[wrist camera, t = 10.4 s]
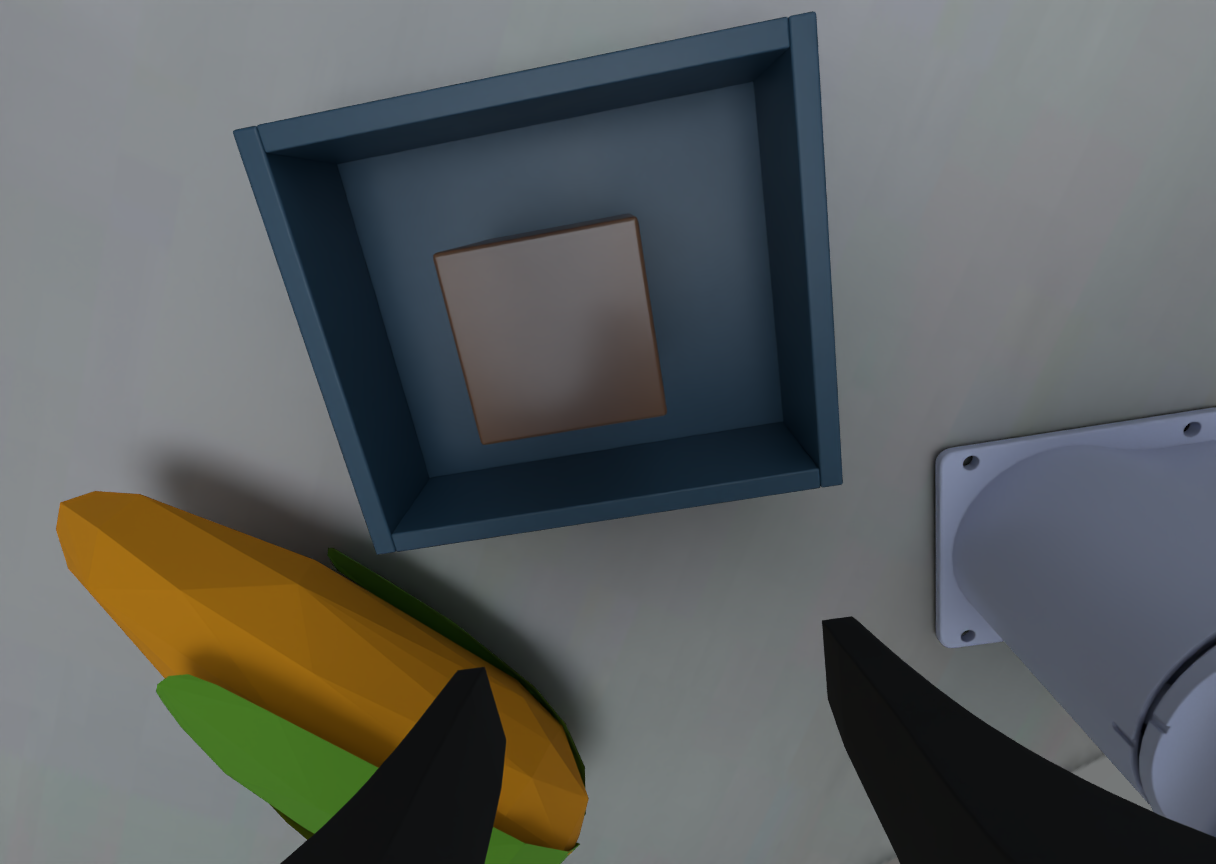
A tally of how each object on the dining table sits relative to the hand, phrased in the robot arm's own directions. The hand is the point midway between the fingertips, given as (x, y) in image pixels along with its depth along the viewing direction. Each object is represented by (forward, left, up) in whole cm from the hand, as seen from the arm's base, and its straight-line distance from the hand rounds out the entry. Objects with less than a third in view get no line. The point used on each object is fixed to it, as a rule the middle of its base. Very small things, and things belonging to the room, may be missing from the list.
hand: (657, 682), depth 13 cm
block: (+1, -7, -9) cm, 11 cm away
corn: (+11, +4, -10) cm, 15 cm away
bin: (+1, -7, -9) cm, 12 cm away
